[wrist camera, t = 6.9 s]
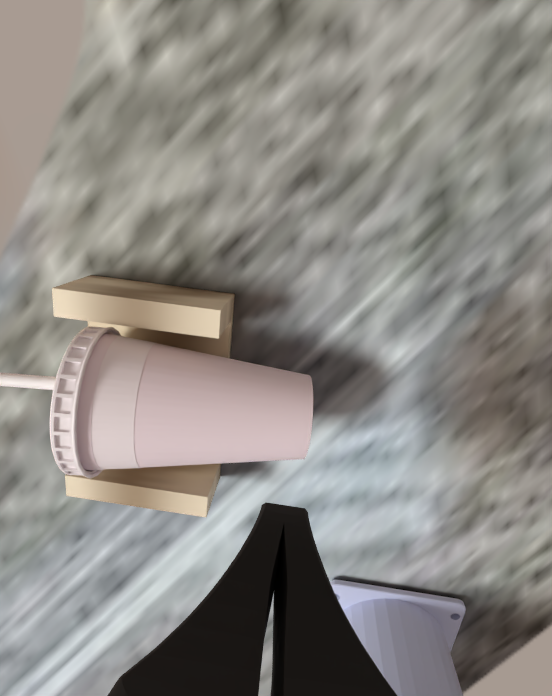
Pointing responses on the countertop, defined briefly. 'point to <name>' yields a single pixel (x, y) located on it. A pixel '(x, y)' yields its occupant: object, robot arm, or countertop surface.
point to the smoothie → (168, 406)
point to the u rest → (163, 328)
